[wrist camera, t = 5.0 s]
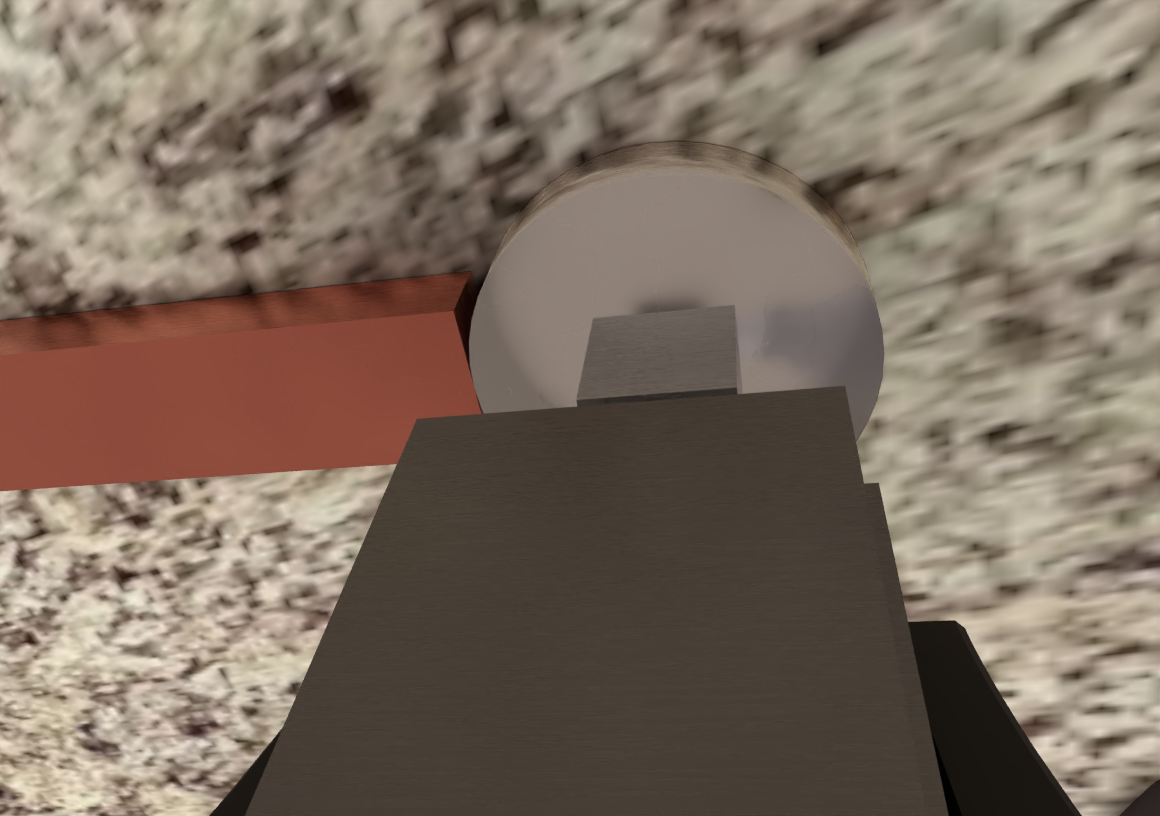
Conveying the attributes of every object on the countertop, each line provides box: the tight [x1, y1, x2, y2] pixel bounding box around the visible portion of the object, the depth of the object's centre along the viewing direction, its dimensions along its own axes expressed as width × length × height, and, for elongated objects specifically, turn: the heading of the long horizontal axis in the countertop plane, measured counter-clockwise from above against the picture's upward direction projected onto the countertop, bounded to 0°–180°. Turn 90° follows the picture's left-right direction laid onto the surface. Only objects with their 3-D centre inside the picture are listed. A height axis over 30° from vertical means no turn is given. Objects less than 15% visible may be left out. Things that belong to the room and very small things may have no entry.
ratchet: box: [0, 141, 884, 491], centre depth 18 cm, size 7×19×4 cm, turn 100°
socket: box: [245, 386, 949, 816], centre depth 11 cm, size 6×6×6 cm
